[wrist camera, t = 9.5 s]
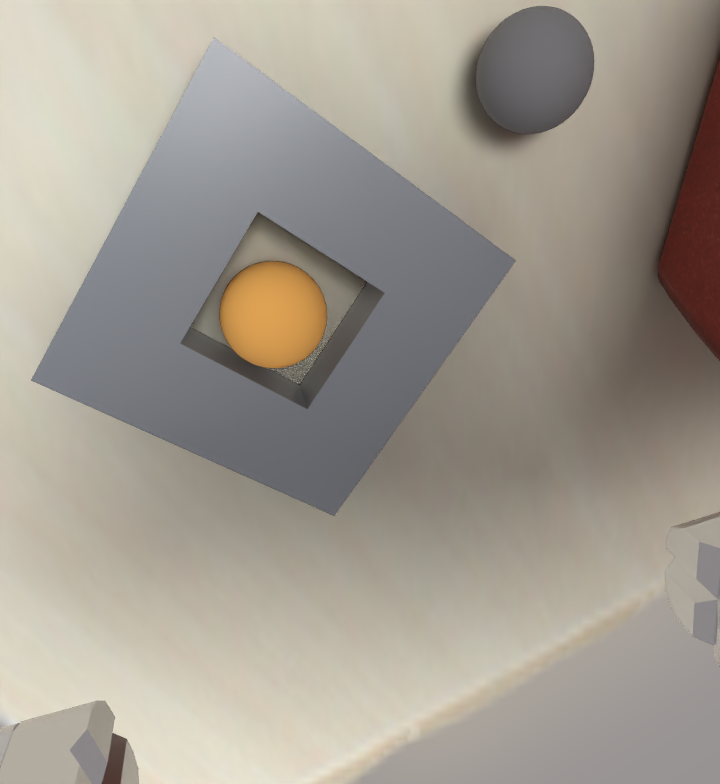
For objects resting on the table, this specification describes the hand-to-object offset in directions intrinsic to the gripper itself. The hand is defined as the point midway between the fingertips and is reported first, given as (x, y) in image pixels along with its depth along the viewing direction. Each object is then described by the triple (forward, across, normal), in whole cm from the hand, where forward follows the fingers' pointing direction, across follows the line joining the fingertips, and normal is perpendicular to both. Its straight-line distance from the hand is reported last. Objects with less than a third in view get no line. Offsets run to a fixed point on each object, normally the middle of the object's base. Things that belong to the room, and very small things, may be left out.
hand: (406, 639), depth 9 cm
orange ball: (+16, +1, 0) cm, 16 cm away
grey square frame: (+18, 0, 0) cm, 18 cm away
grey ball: (+16, -10, -6) cm, 20 cm away
